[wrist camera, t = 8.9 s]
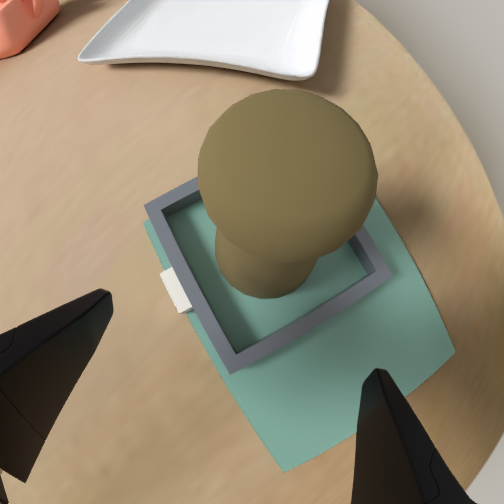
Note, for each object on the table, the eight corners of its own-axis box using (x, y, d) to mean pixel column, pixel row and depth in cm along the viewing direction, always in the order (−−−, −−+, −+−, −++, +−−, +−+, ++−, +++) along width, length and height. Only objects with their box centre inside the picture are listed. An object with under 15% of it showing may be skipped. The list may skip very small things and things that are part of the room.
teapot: (33, 56, 23) (1, 4, 12) (-22, 70, 23) (-50, 35, 13) (83, 6, 25) (63, -44, 15) (18, 24, 26) (-3, -11, 16)
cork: (319, 206, 18) (394, 84, 7) (312, 304, 17) (415, 279, 6) (222, 194, 18) (200, 53, 7) (207, 292, 17) (144, 247, 6)
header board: (453, 351, 16) (467, 353, 15) (281, 471, 15) (285, 483, 13) (326, 132, 20) (331, 118, 18) (141, 221, 18) (132, 212, 16)
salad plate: (82, 82, 21) (69, 59, 18) (171, -17, 26) (168, -35, 23) (308, 108, 21) (316, 78, 17) (330, -1, 25) (335, -21, 22)
